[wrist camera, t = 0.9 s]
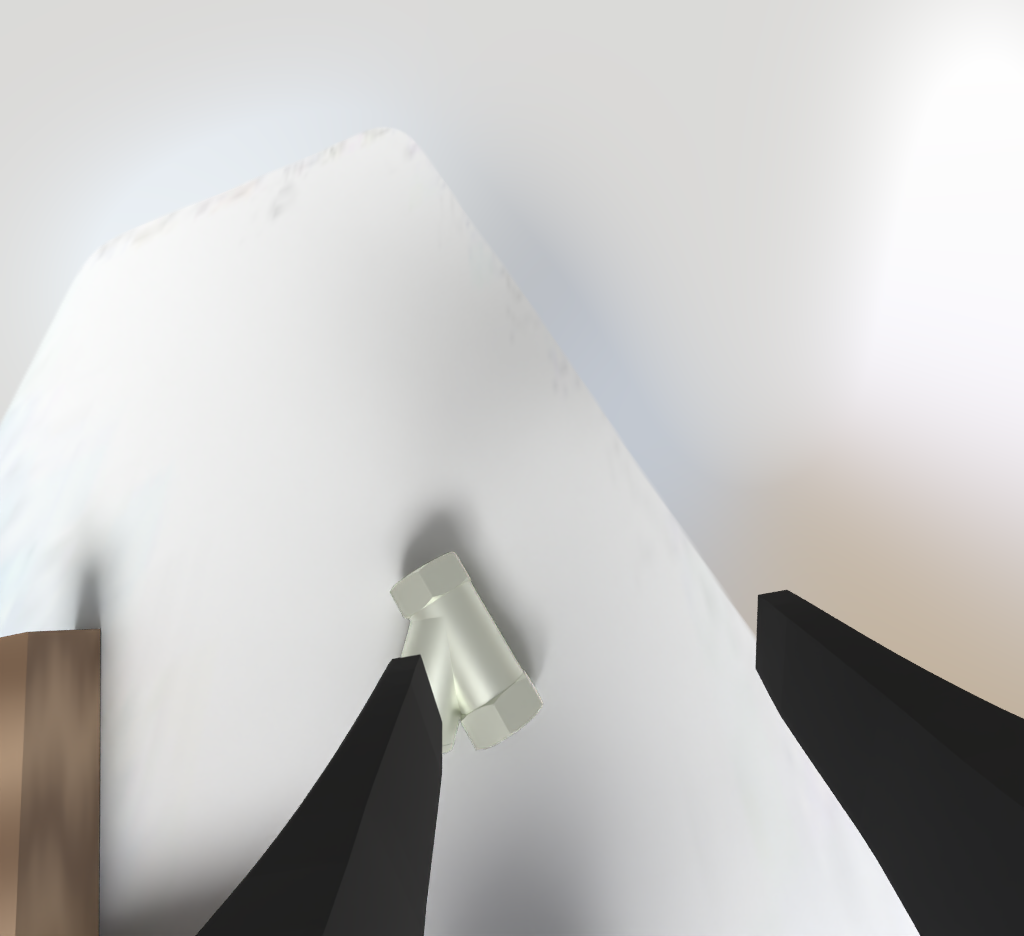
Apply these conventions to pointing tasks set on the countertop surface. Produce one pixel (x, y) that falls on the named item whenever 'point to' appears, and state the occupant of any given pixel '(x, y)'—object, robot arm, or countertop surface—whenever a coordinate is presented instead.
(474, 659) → the pipe fitting
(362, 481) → the countertop surface
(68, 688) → the corner arena
